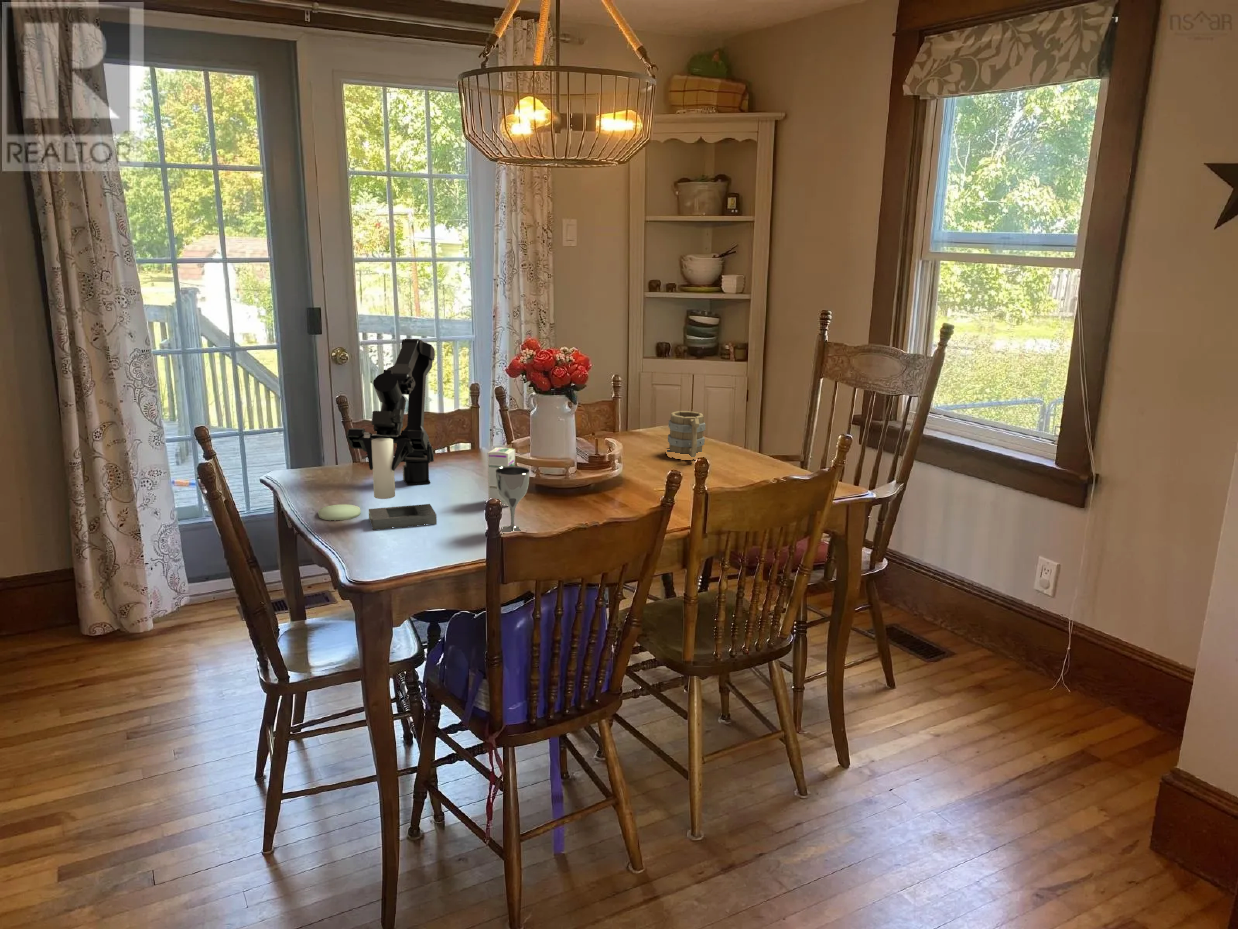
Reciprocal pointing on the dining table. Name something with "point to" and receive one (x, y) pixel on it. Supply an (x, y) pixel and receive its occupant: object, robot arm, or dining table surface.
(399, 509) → the dark grey peg holder
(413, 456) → the robot arm
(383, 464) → the cream round peg
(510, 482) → the wine glass
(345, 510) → the sage mat
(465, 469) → the dining table surface
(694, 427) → the tankard
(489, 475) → the syrup box
